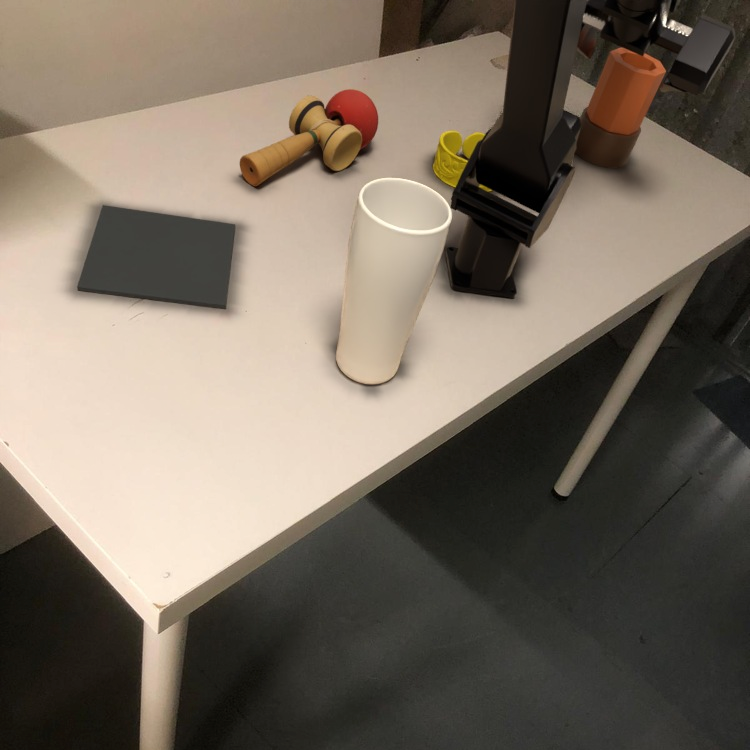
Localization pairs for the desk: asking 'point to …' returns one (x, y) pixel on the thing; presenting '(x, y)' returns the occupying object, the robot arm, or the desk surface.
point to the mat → (159, 257)
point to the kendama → (318, 135)
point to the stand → (603, 144)
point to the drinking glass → (388, 273)
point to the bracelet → (454, 156)
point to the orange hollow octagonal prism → (625, 91)
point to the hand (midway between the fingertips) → (626, 71)
